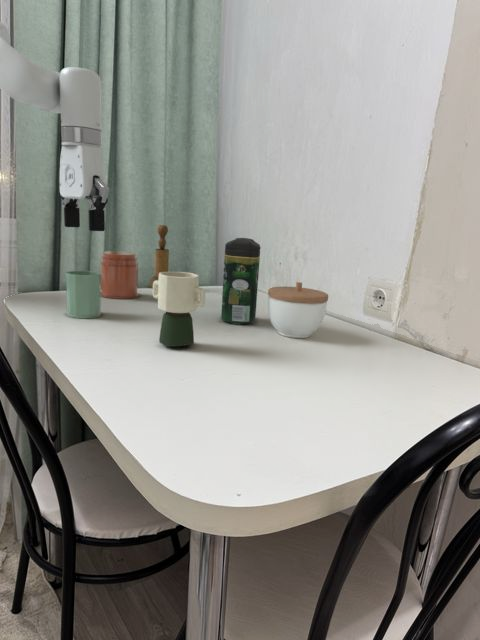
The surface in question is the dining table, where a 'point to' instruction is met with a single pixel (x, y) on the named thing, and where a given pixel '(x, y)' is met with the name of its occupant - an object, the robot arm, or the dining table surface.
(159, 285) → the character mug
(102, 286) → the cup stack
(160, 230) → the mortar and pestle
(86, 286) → the cup
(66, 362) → the dining table surface
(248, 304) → the coffee jar
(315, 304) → the lidded bowl
